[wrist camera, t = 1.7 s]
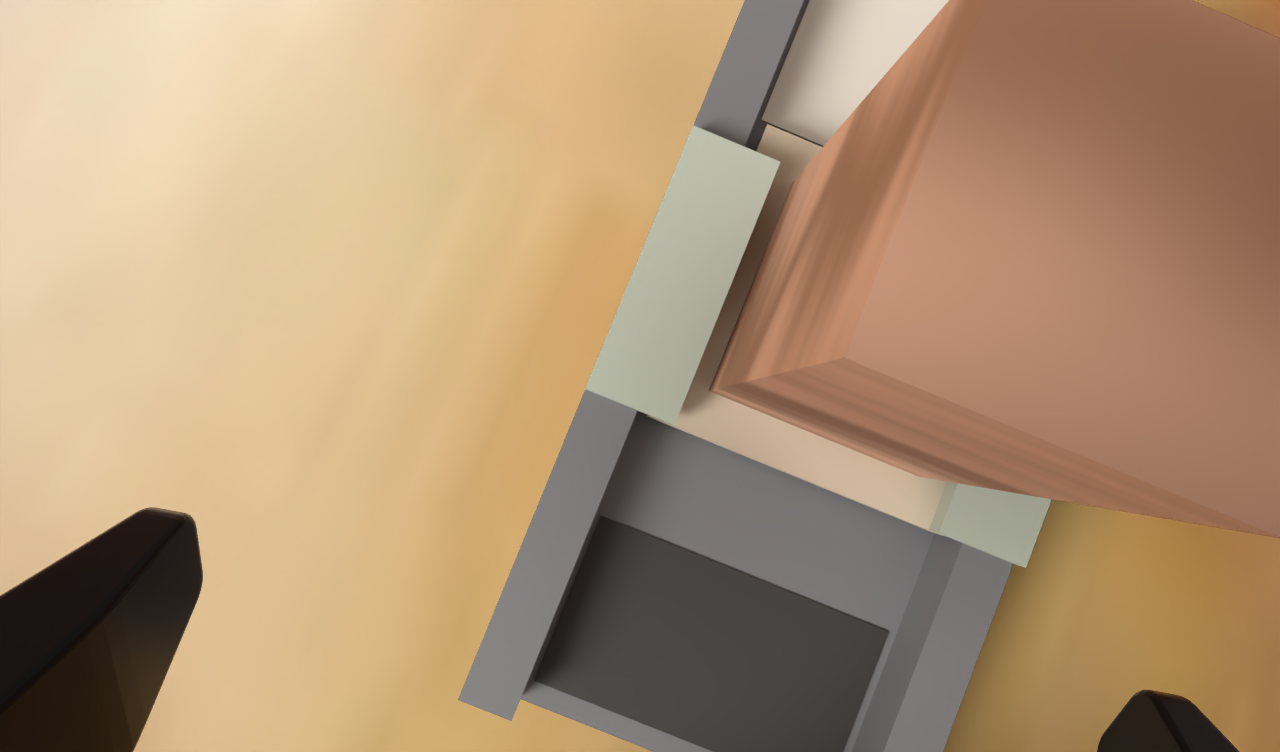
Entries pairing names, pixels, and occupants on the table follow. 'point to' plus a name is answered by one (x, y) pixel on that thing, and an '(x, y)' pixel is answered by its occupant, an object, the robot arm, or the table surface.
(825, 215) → the salmon pink rectangular block
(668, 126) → the table surface
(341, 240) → the table surface
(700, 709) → the track
